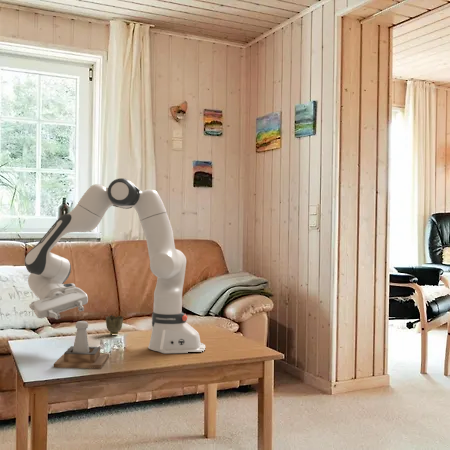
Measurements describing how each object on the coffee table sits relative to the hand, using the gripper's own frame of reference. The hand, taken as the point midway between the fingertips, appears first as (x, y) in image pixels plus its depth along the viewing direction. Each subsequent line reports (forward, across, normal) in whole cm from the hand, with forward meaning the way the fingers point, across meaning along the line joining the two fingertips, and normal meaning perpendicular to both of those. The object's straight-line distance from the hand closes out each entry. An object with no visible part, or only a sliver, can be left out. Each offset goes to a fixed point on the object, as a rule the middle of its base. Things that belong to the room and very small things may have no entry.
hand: (70, 313), depth 214 cm
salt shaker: (+15, -4, +9) cm, 18 cm away
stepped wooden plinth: (+16, -4, +10) cm, 19 cm away
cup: (-13, +26, +29) cm, 41 cm away
